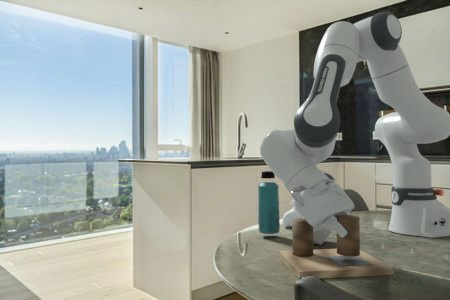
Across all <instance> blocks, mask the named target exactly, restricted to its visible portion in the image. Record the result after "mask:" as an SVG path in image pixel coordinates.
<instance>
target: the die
mask: <svg viewBox="0 0 450 300" xmlns="http://www.w3.org/2000/svg"><path fill="white" fill-rule="evenodd" d="M303 218H304V217H303ZM332 233H333V230H332V229H331V228H329V227H328V226H327V225H326V224H325V223H323V224H321V225H318V226H315V227H313V245H318V244H320V246H322V244H323V243H324V242H326V240H327V238H328V237H329V236H330V235H332Z"/></svg>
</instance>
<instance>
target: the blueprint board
mask: <svg viewBox="0 0 450 300" xmlns="http://www.w3.org/2000/svg"><path fill="white" fill-rule="evenodd" d="M291 228H292V230H291V231H292V239H291V240H292V243H291V244H292V250H278V251H277V252H278V258H279V260H281V262H282V263H283V264H284V265H285V266H287V268H288V269H289V270H290V271H291V272H292V273H293V274H294V275H295V276H296V277H297V278H298V279H299V278H302V277H306V276H315V277H319V278H318V279H334V278H338V279H339V278H353V277H357V278H358V277H373V276H374V277H375V276H391V275H392V276H393V275H394V267H393V266H391V265H389V264H388V263H385V262H384V261H382V260H380V259H378V258H376V257H374V256H373V255H372V254H371V255H370V254H369V253H367V252H364V251H363V250H361V249H360V255H359V256H343V255H339V254H337V248H322V249H321V248H320V249H319V248H318V249H314V244H313V226H312V225H310V224H309V223H308V222H307V221H306V220H305V218H297V219H292V227H291Z"/></svg>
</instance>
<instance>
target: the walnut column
mask: <svg viewBox="0 0 450 300" xmlns="http://www.w3.org/2000/svg"><path fill="white" fill-rule="evenodd" d="M360 218H361V217H360V216H357V215H339V216H337V221H338V222H339V223H340V224H341V225H342V226H345V227H346V228H347V229H348V231H349V233H348V234H347V235H346V236H345V237H340V236H339V235H338V234H337V233H336V249H337V254H339V255H343V256H359V255H360V250H361V243H360V242H361V233H360V231H361V230H360V222H361V221H360V220H361V219H360Z"/></svg>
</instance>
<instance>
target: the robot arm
mask: <svg viewBox="0 0 450 300" xmlns="http://www.w3.org/2000/svg"><path fill="white" fill-rule="evenodd" d="M402 34H403V29H402V25H401V21H400V20H399V18H398V17H397V16H396V15H395V14H394V13H392V12H390V11H381V12H378V13H374V14H373V15H372V16H368V17H367V18H363V19H361V20H359V21H357V22H355V23H351V22H349V21H345V20H343V21H342V20H341V21H337V22H333V23H332V24H331V25H329V26H328V28H327V29H326V30H325V32H324V34H323V36H322V38H321V40H320V43H319V44H318V48H317V52H316V54H315V59H314V63H313V79H314V81H313V83H312V88H311V90H310V93H309V95H308V97H307V99H306V100H305V101H304V103H303V104H301V105H300V107H299V108H298V109H297V111H296V112H295V115H294V116H293V117H294V118H293V126H294V127H293V128H292V129H283V130H281V129H273V130H272V131H270V132H269V133H268V134H267V135H266V136H265V137H264V138H263V140H262V141H261V144H260V147H259V151H260V153H259V154H260V156H261V158H262V160H263V161H264V163H265V164H266V165H267V166H268V168H269V169H270V171H272V172H273V173H274V175H275V177H277V178H279V179H280V181H282V183H283V185H284V186H285V188H286V190H287V191H288V192H289V194H291V195H290V196H291V197H292V198H293V200H294V204H295V206H296V207H297V209H298V210H299V212H300V213H301V214H302V216H303V217H304V218H305V220H306V221H307V222H308V223H309V224H310V225H312V226H313V227H315V226H318V225H321V224H323V223H325V224H326V225H327V226H328V227H329V228H331V231H334V232H335V233H336V235H337V234H338V235H339V236H340V237H345V236H346V235H347V234H348V233H349V231H348V229H347V228H346V227H345V226H342V225H341V224H340V223H339V222H338V221H337V216H339V215H351V213H350V212H351V211H352V210H354V209H355V204H354V202H353V200H352V199H351V198H350V196H349V195H348V194H347V193H346V192H345V190H344V189H343V188H342V187H341V186H340V185H339V184H337V182H336V178H335V177H334V176H333V175H332V174H330V173H327V172H325V171H323V170H321V169H320V168H319V167H318V166H317V165H319V164H321V163H322V162H324V161H326V160H327V159H329V158H330V156H331V155H332V153H333V152H334V149H335V145H336V142H337V141H336V140H337V136H338V132H339V130H340V128H341V115H340V112H339V109H338V108H339V107H338V105H337V104H338V103H337V101H338V98H339V93H340V90H341V88H342V87H344V86H347V85H348V84H349V83H350V81H351V79H352V78H353V75H354V73H355V71H356V67H357V63H360V62H364V61H366V64H367V68H368V71H369V74H370V77H371V79H372V83H373V85H374V88H375V90H376V93H377V95H378V98H379V100H380V101H381V102H382V103H384V104H386V105H388V106H390V107H391V108H392V109H393V110H394V112H389V113H387V114H384V115H383V116H380V117H379V118H378V119H377V120H376V121H375V126H374V133H375V136H376V138H377V140H378V141H380V142H381V143H382V144H383V145H384V147H385V148H386V150H387V153H388V155H389V158H390V161H391V168H392V170H391V171H392V173H391V174H392V186H391V193H390V194H391V196H390V197H391V205H392V206H391V216H390V220H389V221H390V222H389V225H388V228H387V230H388V231H390V232H393V233H396V234H401V235H408V236H416V237H417V236H419V237H425V238H431V239H432V238H440V237H441V238H442V237H450V208H449V207H448V206H446V205H445V204H443V202H441V201H439V200H438V198H437V196H440V197H443V196H444V194H445V191H444V190H443V189H439V188H436V189H435V188H433V186H432V165H431V162H430V160H428V159H427V158H426V157H424V156H423V155H422V154H421V153H420V151H419V148H418V145H419V144H433V143H436V142H439V141H440V142H441V141H444V140H446V139H448V138H449V136H450V112H449V111H448V110H446V109H445V108H443V107H440V106H438V105H436V104H435V103H433V102H431V100H430V99H428V97H427V96H426V95H425V94H424V93H423V92H422V91H421V89H420V88H419V86H418V85H417V83H416V80H415V77H414V75H413V72H412V71H411V67H410V65H409V63H408V62H409V61H408V60H407V57H406V56H405V53H404V51H403V49H402V48H401V46H400V44H399V43H400V42H401V39H402Z"/></svg>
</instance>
